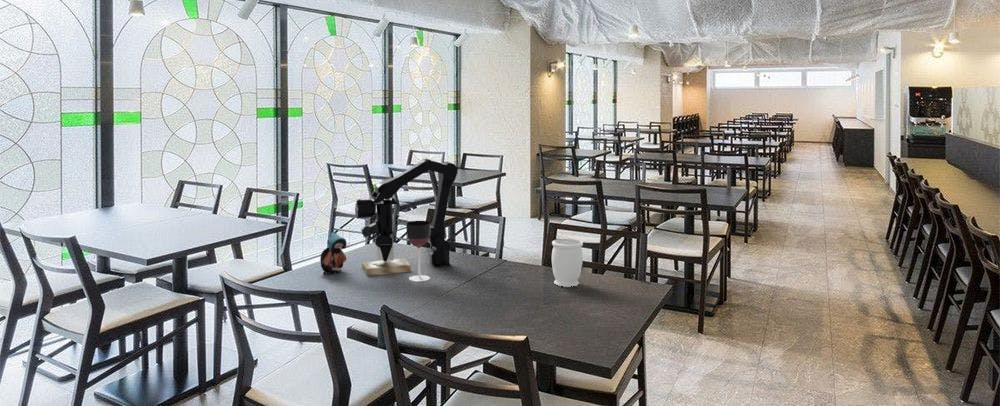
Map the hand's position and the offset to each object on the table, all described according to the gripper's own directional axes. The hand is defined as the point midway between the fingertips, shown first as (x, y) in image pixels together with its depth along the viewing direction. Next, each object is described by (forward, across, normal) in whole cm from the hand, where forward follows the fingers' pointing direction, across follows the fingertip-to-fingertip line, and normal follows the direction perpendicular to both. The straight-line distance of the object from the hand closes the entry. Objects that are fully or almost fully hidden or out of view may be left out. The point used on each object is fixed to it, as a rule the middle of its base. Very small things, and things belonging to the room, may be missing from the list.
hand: (385, 257), depth 238 cm
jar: (+5, +25, +63) cm, 67 cm away
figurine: (+5, +1, -18) cm, 19 cm away
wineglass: (+5, +12, +12) cm, 18 cm away
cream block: (+2, +2, 0) cm, 3 cm away
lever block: (+5, 0, 0) cm, 5 cm away
